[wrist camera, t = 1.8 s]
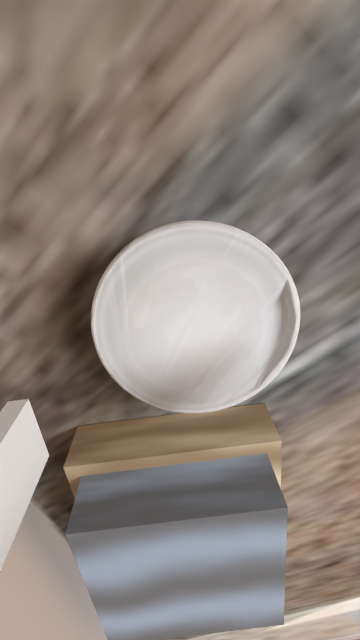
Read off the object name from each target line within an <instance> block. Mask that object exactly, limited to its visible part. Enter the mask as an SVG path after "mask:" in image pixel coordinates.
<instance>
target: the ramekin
mask: <svg viewBox="0 0 360 640" xmlns="http://www.w3.org/2000/svg"><path fill="white" fill-rule="evenodd" d="M299 326H300V302H299V297H298V293H297V290H296V287H295V284H294V282H293V279H292V277H291V275H290V273H289V272H288V270H287V268H286V267H285V265H284V264H283V262H282V261H281V260H280V259H279V257H278V256H277V255H276V254H275V253H274V252H273V251H272V250H271V249H270V248H269V247H267V246H266V245H265V244H264V243H262V242H261V241H260V240H258V239H257V238H255V237H254V236H252V235H250V234H249V233H247V232H245V231H242V230H240V229H238V228H235V227H233V226H229V225H225V224H222V223H217V222H211V221H182V222H175V223H171V224H167V225H164V226H161V227H158V228H155V229H153V230H151V231H148V232H146V233H144V234H143V235H141V236H139V237H138V238H136V239H135V240H133V241H132V242H131V243H129V244H128V245H127V246H125V247H124V248H123V249H122V250H121V251H120V252H119V253H118V254H117V255H116V257H115V258H114V259H113V260H112V261H111V263H110V264H109V266H108V267H107V269H106V270H105V272H104V273H103V275H102V277H101V279H100V281H99V283H98V286H97V288H96V292H95V295H94V299H93V303H92V310H91V331H92V337H93V340H94V344H95V347H96V350H97V353H98V356H99V358H100V360H101V362H102V364H103V366H104V367H105V369H106V370H107V371H108V373H109V374H110V376H111V377H112V378H113V379H114V380H115V381H116V382H117V383H118V384H119V385H120V386H121V387H122V388H123V389H124V390H125V391H127V392H128V393H129V394H131V395H132V396H134V397H135V398H137V399H139V400H141V401H142V402H144V403H147V404H149V405H151V406H154V407H156V408H159V409H162V410H165V411H170V412H176V413H189V414H194V413H207V412H213V411H218V410H222V409H225V408H229V407H231V406H234V405H236V404H239V403H241V402H243V401H245V400H247V399H249V398H250V397H252V396H254V395H255V394H257V393H258V392H259V391H261V390H262V389H263V388H265V387H266V386H267V385H268V384H269V383H270V382H271V381H272V380H273V379H274V378H275V377H276V376H277V375H278V374H279V372H280V371H281V370H282V368H283V367H284V365H285V364H286V363H287V361H288V359H289V357H290V355H291V353H292V351H293V349H294V346H295V344H296V340H297V336H298V332H299Z"/></svg>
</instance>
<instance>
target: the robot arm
mask: <svg viewBox="0 0 360 640" xmlns="http://www.w3.org/2000/svg"><path fill="white" fill-rule="evenodd" d="M48 457H49V453H48V451H47V448H46V445H45V442H44V440H43V437H42V434H41V432H40V429H39V426H38V423H37V421H36V418H35V415H34V412H33V410H32V407H31V404H30V402H29V399H24V400H16V401H9V402H7V403H6V405H5V406H4V407H3V409H2V410H1V412H0V571H1V569H2V566H3V564H4V562H5V559H6V557H7V555H8V552H9V549H10V548H11V545H12V543H13V540H14V538H15V536H16V533H17V531H18V528H19V526H20V524H21V521H22V519H23V516H24V514H25V512H26V510H27V507H28V505H29V502H30V500H31V498H32V495H33V493H34V491H35V488H36V486H37V483H38V481H39V479H40V476H41V474H42V472H43V469H44V467H45V464H46V462H47V460H48Z"/></svg>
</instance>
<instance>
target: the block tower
mask: <svg viewBox="0 0 360 640" xmlns="http://www.w3.org/2000/svg"><path fill="white" fill-rule="evenodd" d="M281 449H282V440H281V438H280V436H279V434H278V431H277V429H276V427H275V425H274V423H273V420H272V418H271V416H270V414H269V412H268V409H267V407H266V405H265V403H261V404H253V405H245V406H237V407H229V408H225V409H222V410H218V411H213V412H207V413H194V414H189V413H180V414H172V415H164V416H155V417H147V418H139V419H131V420H123V421H115V422H107V423H99V424H91V425H82V426H78V427H77V430H76V433H75V435H74V438H73V441H72V444H71V447H70V450H69V453H68V456H67V458H66V461H65V464H64V467H63V468H64V471H65V473H66V476H67V479H68V482H69V484H70V487H71V490H72V493H73V495H74V498H75V501H74V504H73V508H72V512H71V515H70V519H69V522H68V526H67V530H66V533H65V536H66V538H67V541H68V543H69V545H70V548H71V550H72V553H73V555H74V558H75V560H76V563H77V565H78V567H79V570H80V572H81V574H82V577H83V580H84V582H85V585H86V587H87V589H88V592H89V594H90V597H91V599H92V602H93V604H94V606H95V608H96V611H97V614H98V616H99V619H100V621H101V624H102V626H103V629H104V631H105V633H106V636H107V638H108V640H159V639H167V638H176V637H184V636H192V635H201V634H209V633H217V632H225V631H234V630H242V629H250V628H258V627H267V626H275V625H283V624H284V601H285V571H286V542H287V512H288V507H287V504H286V502H285V499H284V496H283V494H282V491H281Z"/></svg>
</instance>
